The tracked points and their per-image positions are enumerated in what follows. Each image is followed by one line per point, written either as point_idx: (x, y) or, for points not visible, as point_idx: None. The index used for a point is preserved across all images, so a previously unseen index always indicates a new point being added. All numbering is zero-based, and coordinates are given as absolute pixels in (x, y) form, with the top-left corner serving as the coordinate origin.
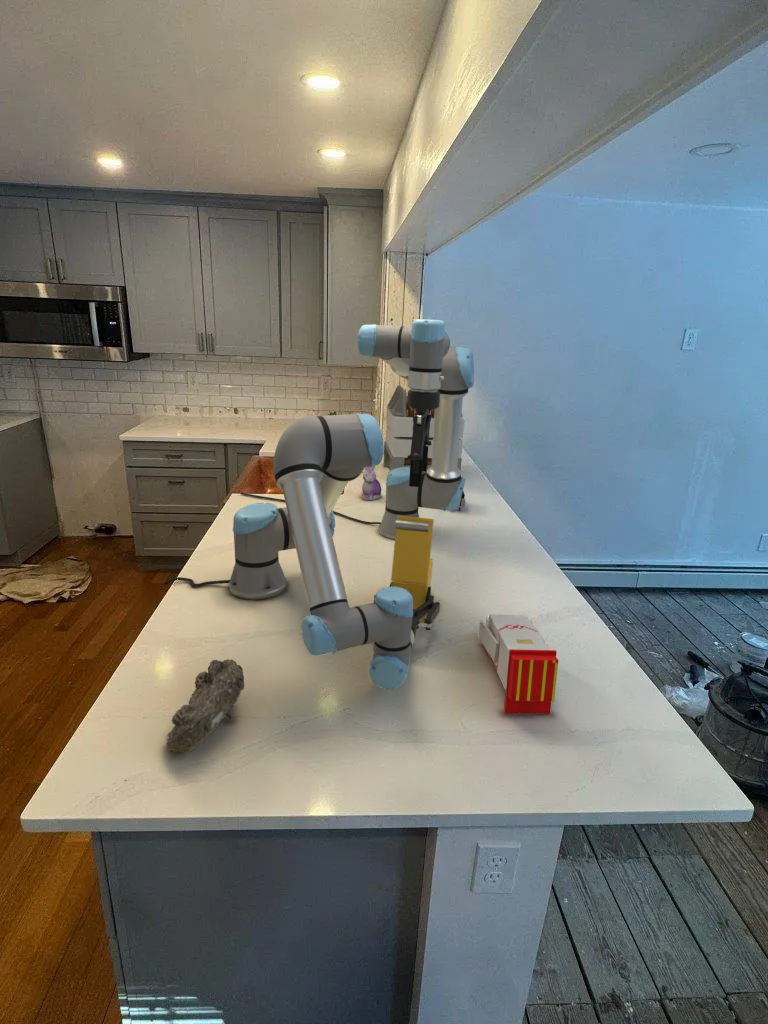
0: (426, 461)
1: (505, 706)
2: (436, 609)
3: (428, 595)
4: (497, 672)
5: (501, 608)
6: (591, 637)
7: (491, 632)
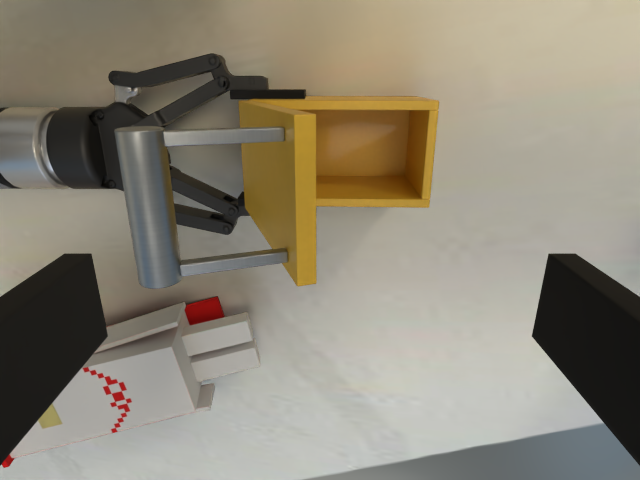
0: (585, 393)
1: None
2: (197, 227)
3: None
4: None
5: (371, 330)
6: (300, 459)
7: (144, 339)
